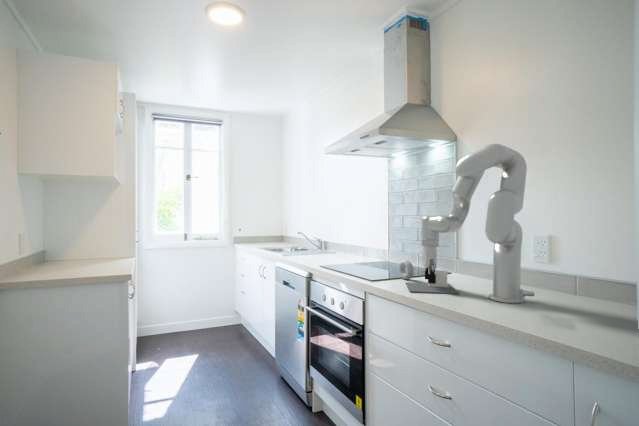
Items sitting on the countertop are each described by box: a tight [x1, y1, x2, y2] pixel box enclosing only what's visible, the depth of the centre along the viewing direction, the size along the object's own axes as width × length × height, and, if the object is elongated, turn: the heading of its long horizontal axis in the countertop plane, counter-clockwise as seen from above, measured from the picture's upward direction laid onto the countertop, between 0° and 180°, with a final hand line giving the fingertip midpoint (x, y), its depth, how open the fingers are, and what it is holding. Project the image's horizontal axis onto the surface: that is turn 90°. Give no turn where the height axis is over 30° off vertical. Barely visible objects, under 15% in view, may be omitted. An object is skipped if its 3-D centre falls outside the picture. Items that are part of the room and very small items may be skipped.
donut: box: [397, 259, 415, 280], centre depth 185 cm, size 10×3×10 cm, turn 27°
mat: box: [405, 281, 460, 295], centre depth 163 cm, size 20×20×1 cm
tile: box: [427, 270, 448, 287], centre depth 165 cm, size 8×2×7 cm, turn 82°
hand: (430, 281), depth 165 cm, fingers open, 9 cm apart
